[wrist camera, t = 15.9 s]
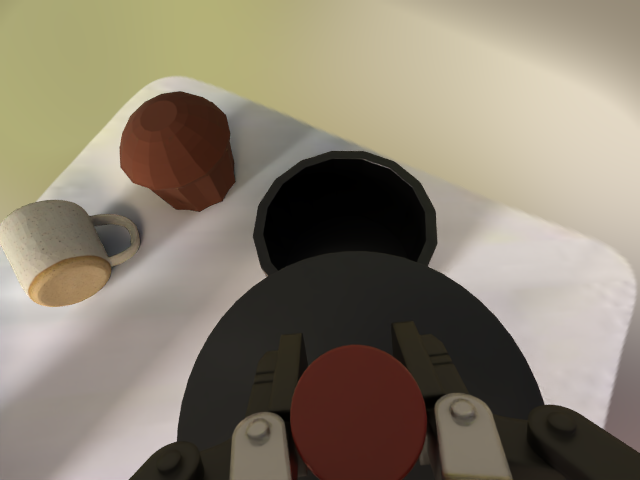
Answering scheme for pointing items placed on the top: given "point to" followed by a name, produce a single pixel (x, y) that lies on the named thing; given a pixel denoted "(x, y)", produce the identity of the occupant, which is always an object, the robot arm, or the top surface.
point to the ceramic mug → (61, 251)
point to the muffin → (179, 150)
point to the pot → (344, 211)
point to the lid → (353, 362)
